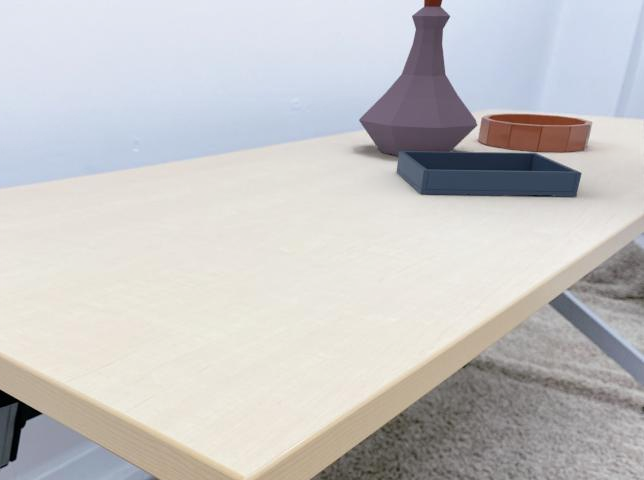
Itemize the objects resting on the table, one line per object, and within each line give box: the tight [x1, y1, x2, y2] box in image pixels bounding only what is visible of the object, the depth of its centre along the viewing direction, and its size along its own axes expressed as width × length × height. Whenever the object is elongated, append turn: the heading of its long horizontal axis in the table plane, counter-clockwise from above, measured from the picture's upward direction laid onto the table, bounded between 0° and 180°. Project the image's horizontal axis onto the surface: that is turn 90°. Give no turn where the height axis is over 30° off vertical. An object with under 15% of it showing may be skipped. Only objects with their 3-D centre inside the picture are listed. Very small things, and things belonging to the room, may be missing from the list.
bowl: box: [477, 113, 593, 153], centre depth 105 cm, size 15×15×4 cm
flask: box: [358, 0, 478, 157], centre depth 94 cm, size 16×16×20 cm
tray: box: [396, 151, 582, 198], centre depth 79 cm, size 16×12×2 cm
